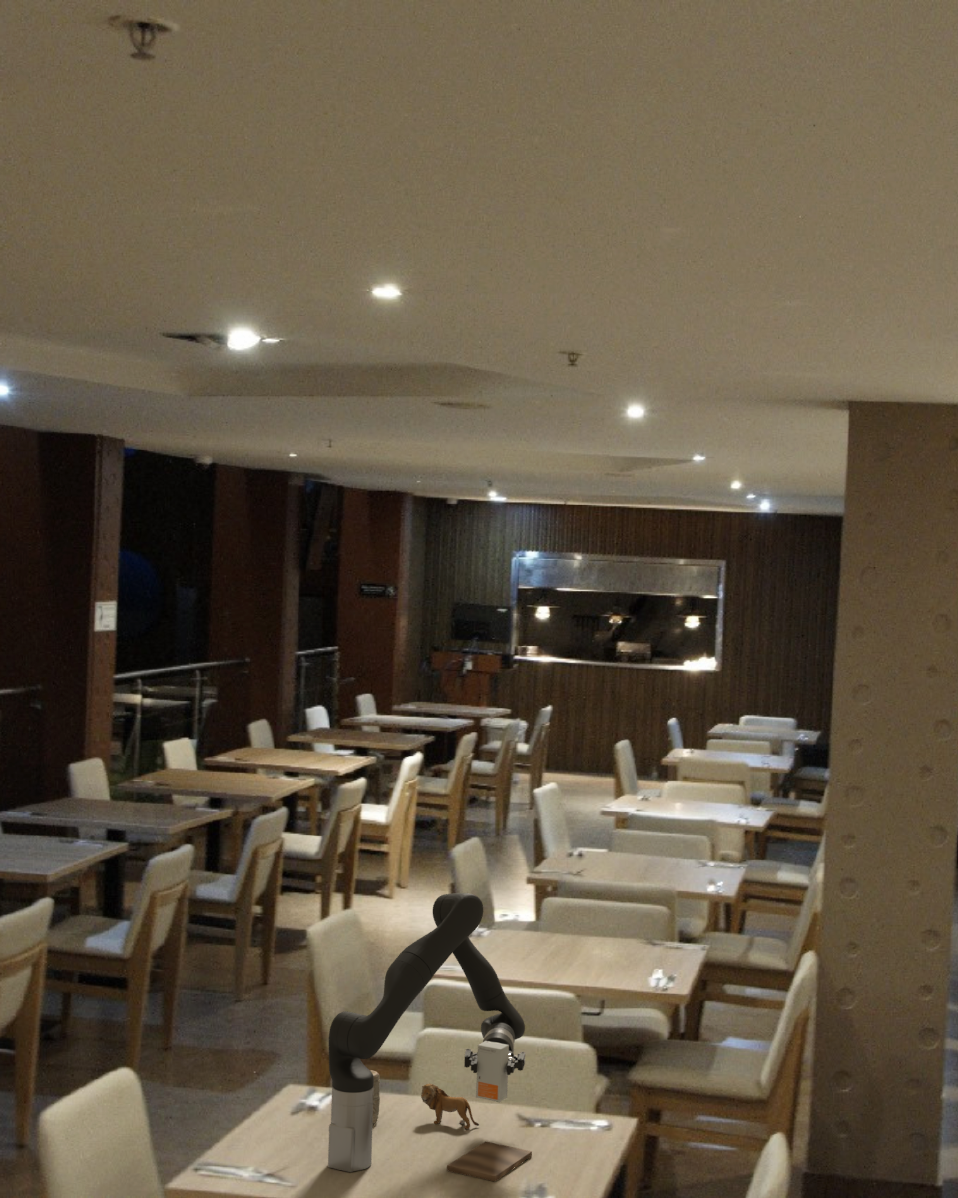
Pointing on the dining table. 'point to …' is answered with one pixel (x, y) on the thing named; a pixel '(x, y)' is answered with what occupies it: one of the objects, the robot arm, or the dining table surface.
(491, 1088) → the skincare box
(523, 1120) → the dining table surface
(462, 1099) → the lion figurine
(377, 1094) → the carving
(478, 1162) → the walnut board
